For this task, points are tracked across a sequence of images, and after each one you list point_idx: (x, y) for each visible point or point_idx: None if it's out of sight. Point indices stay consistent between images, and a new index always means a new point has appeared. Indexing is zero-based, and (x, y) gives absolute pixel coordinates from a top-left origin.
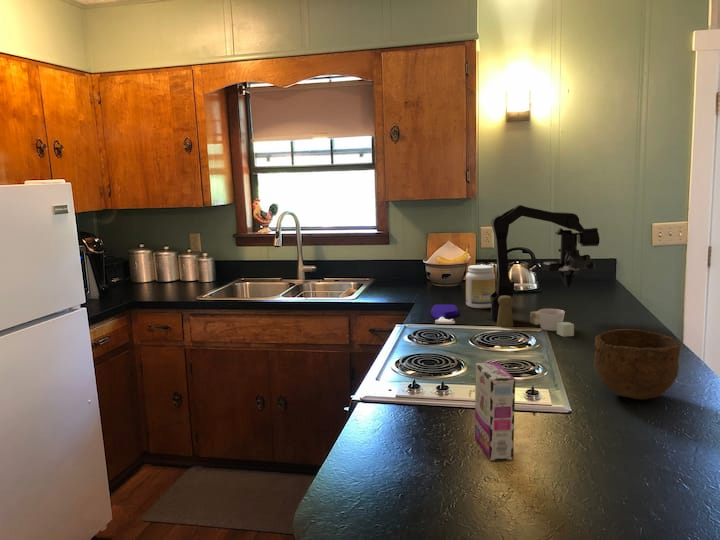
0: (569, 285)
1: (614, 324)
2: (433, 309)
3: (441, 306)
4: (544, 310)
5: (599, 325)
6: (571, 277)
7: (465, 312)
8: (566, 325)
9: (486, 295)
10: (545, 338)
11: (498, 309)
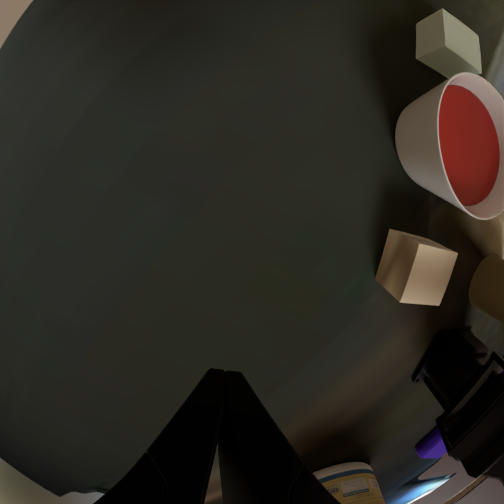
0: (213, 388)
1: (104, 53)
2: None
3: None
4: (472, 212)
5: (180, 58)
6: (181, 501)
7: (418, 434)
8: (467, 28)
9: (359, 489)
10: (494, 79)
11: (487, 354)
